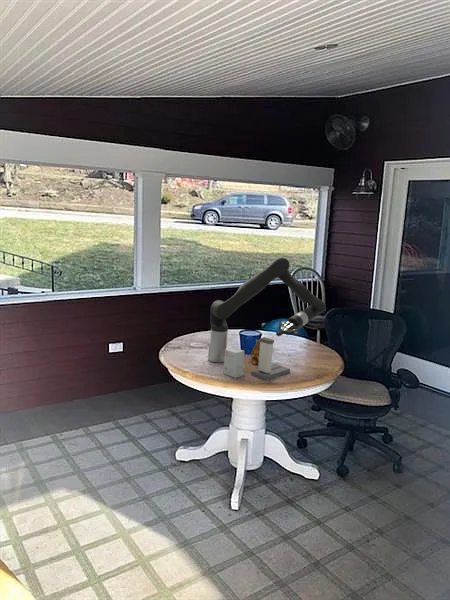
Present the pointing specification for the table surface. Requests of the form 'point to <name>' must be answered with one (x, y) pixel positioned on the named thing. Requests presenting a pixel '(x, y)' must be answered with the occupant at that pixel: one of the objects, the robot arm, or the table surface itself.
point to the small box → (234, 362)
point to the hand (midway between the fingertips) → (277, 334)
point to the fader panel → (275, 371)
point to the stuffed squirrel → (255, 353)
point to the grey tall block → (265, 354)
